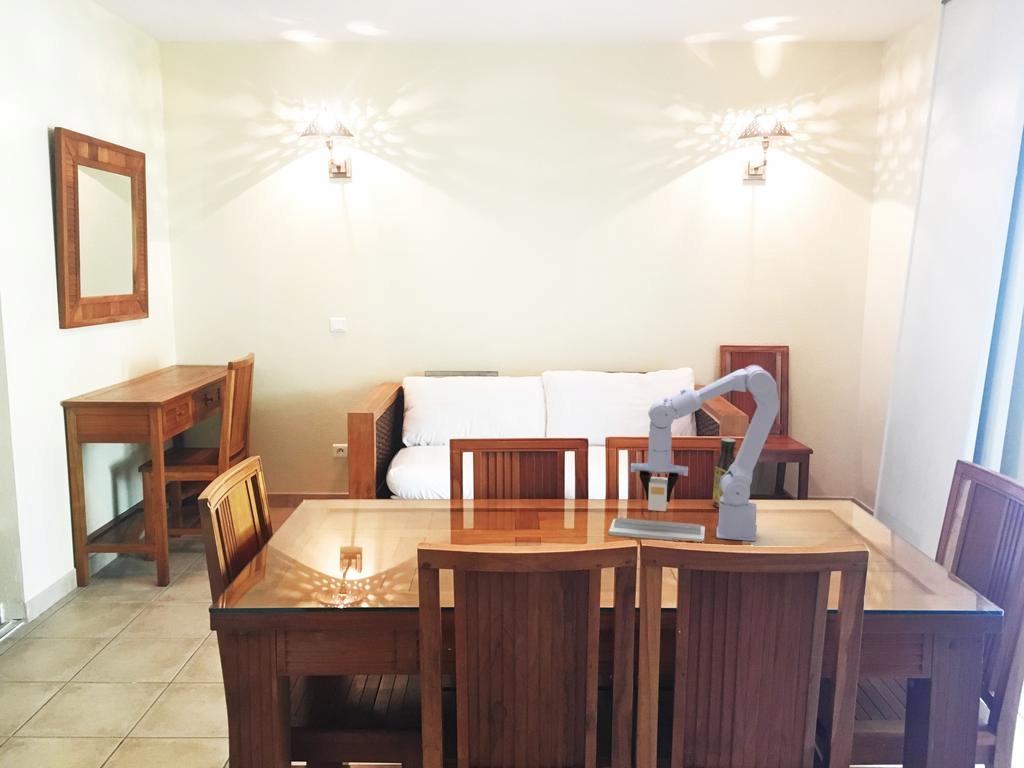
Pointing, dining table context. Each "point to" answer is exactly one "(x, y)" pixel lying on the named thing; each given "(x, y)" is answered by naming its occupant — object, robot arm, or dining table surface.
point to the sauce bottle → (723, 466)
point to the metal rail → (657, 526)
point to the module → (658, 493)
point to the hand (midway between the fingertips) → (658, 500)
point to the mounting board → (656, 534)
